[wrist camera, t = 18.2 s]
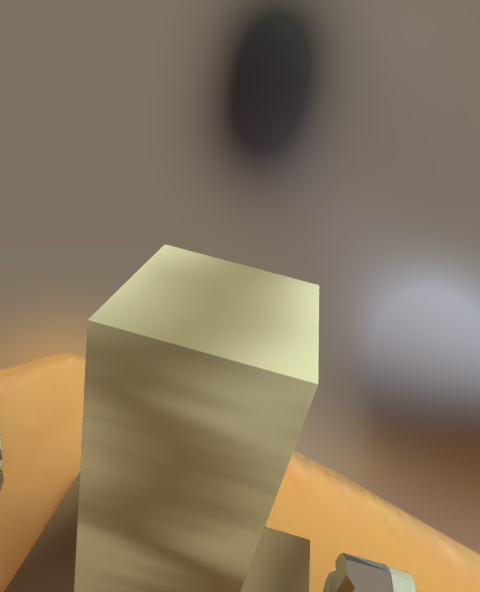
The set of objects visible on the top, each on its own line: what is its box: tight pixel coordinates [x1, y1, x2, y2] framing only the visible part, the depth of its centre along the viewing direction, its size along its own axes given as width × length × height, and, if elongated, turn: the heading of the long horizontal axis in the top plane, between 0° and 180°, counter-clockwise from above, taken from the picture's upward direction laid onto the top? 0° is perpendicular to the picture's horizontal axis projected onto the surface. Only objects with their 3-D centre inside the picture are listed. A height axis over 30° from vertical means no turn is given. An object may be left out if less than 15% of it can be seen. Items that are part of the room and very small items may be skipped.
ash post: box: [74, 245, 319, 592], centre depth 14 cm, size 5×5×13 cm
